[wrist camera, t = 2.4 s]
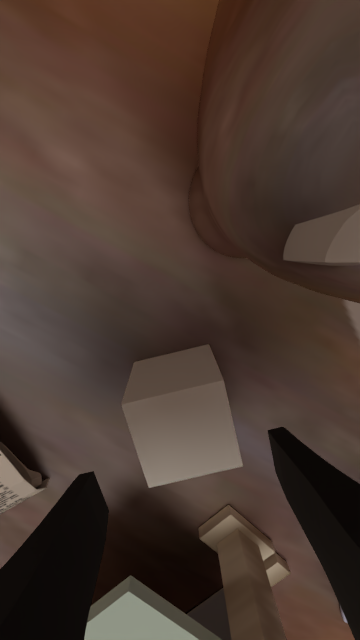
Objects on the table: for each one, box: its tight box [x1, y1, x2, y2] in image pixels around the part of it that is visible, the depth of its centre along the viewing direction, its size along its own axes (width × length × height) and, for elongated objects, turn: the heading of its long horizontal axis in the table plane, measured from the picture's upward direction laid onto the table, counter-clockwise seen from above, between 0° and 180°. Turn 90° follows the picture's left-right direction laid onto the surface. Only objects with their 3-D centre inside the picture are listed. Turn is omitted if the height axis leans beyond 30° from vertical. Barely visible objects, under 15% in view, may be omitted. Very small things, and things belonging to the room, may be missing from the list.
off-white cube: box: [121, 344, 243, 488], centre depth 16 cm, size 5×5×5 cm
